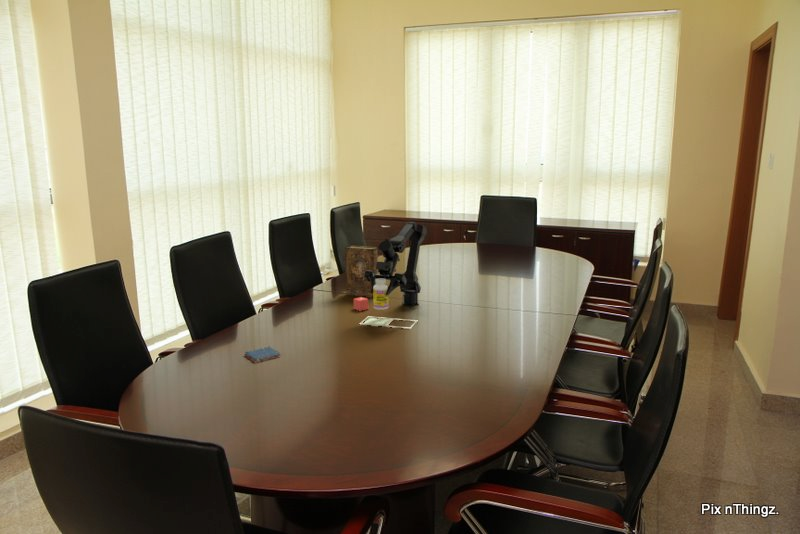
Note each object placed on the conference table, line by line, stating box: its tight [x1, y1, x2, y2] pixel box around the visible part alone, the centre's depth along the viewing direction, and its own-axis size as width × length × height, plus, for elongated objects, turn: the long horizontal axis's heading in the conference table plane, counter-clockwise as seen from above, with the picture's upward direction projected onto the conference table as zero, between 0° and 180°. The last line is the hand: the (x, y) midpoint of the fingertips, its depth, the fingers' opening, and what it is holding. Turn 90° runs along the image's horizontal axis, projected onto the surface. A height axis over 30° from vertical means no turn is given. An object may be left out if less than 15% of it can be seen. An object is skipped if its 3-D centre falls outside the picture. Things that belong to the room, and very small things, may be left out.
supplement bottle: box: [372, 278, 390, 311], centre depth 264 cm, size 7×7×13 cm
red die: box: [353, 296, 370, 312], centre depth 287 cm, size 5×5×6 cm
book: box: [344, 245, 379, 298], centre depth 311 cm, size 16×6×25 cm, turn 68°
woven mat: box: [244, 346, 281, 364], centre depth 227 cm, size 10×11×2 cm
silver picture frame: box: [358, 315, 419, 330], centre depth 266 cm, size 23×12×1 cm, turn 73°
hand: (379, 294), depth 263 cm, fingers closed on supplement bottle, 7 cm apart
